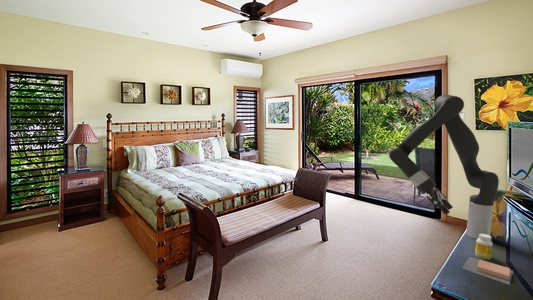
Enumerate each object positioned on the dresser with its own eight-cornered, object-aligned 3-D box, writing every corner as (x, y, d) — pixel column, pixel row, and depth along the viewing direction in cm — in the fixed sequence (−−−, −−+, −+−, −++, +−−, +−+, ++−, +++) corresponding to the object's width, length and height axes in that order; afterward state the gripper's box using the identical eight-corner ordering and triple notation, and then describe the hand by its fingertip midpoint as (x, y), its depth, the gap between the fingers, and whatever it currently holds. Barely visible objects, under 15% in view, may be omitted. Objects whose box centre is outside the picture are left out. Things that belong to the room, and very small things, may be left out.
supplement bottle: (477, 252, 116) (479, 231, 115) (493, 258, 111) (495, 236, 110) (472, 256, 113) (474, 234, 112) (488, 262, 108) (490, 239, 107)
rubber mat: (469, 258, 111) (469, 257, 111) (513, 272, 101) (513, 270, 101) (461, 269, 102) (461, 268, 102) (509, 286, 92) (509, 284, 92)
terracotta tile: (477, 266, 101) (509, 276, 95) (479, 259, 106) (509, 268, 100) (477, 270, 101) (509, 280, 95) (478, 263, 106) (509, 272, 100)
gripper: (425, 179, 118) (454, 210, 112) (432, 174, 129) (459, 202, 122) (411, 189, 122) (438, 219, 116) (419, 183, 133) (444, 211, 127)
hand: (449, 210), depth 119 cm, fingers open, 8 cm apart
